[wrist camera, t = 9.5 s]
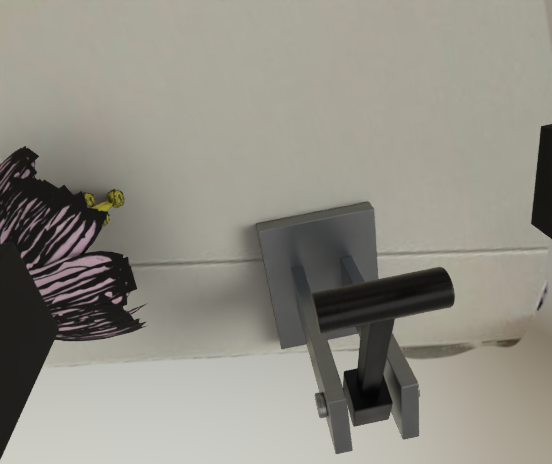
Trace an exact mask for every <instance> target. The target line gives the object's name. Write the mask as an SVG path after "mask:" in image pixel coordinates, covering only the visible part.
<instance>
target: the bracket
mask: <svg viewBox="0 0 552 464" xmlns="http://www.w3.org/2000/svg"><path fill="white" fill-rule="evenodd" d="M257 230H258V235H259V240H260V245H261V250H262V255H263V260H264V265H265V270H266V275H267V280H268V285H269V290H270V295H271V300H272V305H273V310H274V315H275V320H276V325H277V330H278V335H279V340H280V345H281V349H285V348H290V347H295V346H300V345H305V344H307V347H308V350H309V354H310V358H311V362H312V366H313V369H314V373H315V377H316V381H317V384H318V388H319V392H320V393H315V400H316V405H317V410H318V414H319V417H320V418H324V417H326V418H327V422H328V426H329V430H330V434H331V437H332V441H333V445H334V449H335V453H336V454H339V453H344V452H349V451H352V442H351V433H350V425H349V417H348V408H347V399H346V396H345V393H344V390H343V387H342V384H341V381H340V378H339V375H338V371H337V369H336V366H335V362H334V359H333V356H332V353H331V350H330V347H329V344H328V341H327V340H329V339H334V338H339V337H344V336H348V335H353V334H359V336H360V338H361V327H362V325H361V326H356V327H351V328H347V329H342V330H337V331H332V332H327V333H322V334H320V333H319V332H318V329H317V326H316V322H315V318H314V313H313V308H312V303H311V293H313V292H318V291H323V290H328V289H333V288H338V287H343V286H348V285H353V284H358V283H362V282H367V281H372V280H377V279H378V268H377V251H376V234H375V217H374V208H373V207H372V205H371V204H370V202H365V203H360V204H355V205H350V206H345V207H340V208H335V209H330V210H325V211H320V212H314V213H309V214H304V215H299V216H294V217H289V218H284V219H279V220H274V221H269V222H264V223H259V224H257ZM383 375H384V378H385V381H386V384H387V386H388V389H389V392H390V395H391V398H392V401H393V405H392V409H391V412H392V415H393V417H394V420H395V422H396V424H397V427H398V429H399V431H400V434H401V436H402V438H403V439H408V438H413V437H418V436H419V396H420V390H419V384H418V382H417V380H416V378H415V376H414V374H413V372H412V370H411V368H410V367H409V364H408V362H407V361H406V359H405V357H404V355H403V353H402V351H401V349H400V347H399V345H398V343H397V341H396V339H395V337H394V335H393V334H392V335H391V340H390V345H389V349H388V354H387V359H386V364H385V369H384V373H383Z"/></svg>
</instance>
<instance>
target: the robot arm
mask: <svg viewBox="0 0 552 464" xmlns="http://www.w3.org/2000/svg"><path fill="white" fill-rule="evenodd" d="M531 224H532V225H534V226H535V227H536V228H538V229H539V230H540V231H542V232H543V233H544V234H546V235H547V236H548V237H550V238H551V239H552V124H550V125H545V126H541V133H540V143H539V153H538V162H537V172H536V182H535V192H534V202H533V211H532V221H531ZM58 331H59V327H58V325H57V323H56V321H55V319H54V318H53V316H52V314H51V312H50V310H49V308H48V306H47V304H46V303H45V301H44V299H43V297H42V295H41V293H40V291H39V289H38V288H37V286H36V284H35V282H34V280H33V278H32V276H31V275H30V273H29V271H28V269H27V267H26V265H25V263H24V261H23V260H22V258H21V256H20V254H19V252H18V250H17V248H16V247H15V245H14V243H13V242H8V243H3V244H0V459H1V457H2V455H3V453H4V450H5V448H6V446H7V444H8V441H9V439H10V437H11V435H12V432H13V430H14V428H15V426H16V423H17V422H18V419H19V417H20V415H21V413H22V410H23V408H24V406H25V404H26V401H27V399H28V397H29V395H30V393H31V390H32V388H33V386H34V384H35V382H36V379H37V377H38V375H39V373H40V370H41V368H42V366H43V364H44V362H45V360H46V357H47V355H48V353H49V351H50V348H51V346H52V344H53V342H54V340H55V337H56V335H57V333H58Z"/></svg>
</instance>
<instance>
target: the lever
mask: <svg viewBox="0 0 552 464" xmlns="http://www.w3.org/2000/svg"><path fill="white" fill-rule="evenodd" d="M454 299H455V296H454V288H453V284H452V281H451V279H450V276H449V275H448V273H447V271H446V270H445V269H444V268H442V267H437V268H432V269H427V270H422V271H417V272H412V273H407V274H402V275H397V276H392V277H387V278H382V279H377V280H372V281H367V282H362V283H358V284H353V285H348V286H343V287H338V288H333V289H328V290H323V291H318V292H313V293H311V303H312V308H313V313H314V318H315V322H316V326H317V329H318V332H319V333H320V334H322V333H327V332H332V331H337V330H342V329H347V328H351V327H356V326H361V325H362V327H361V338H360V348H359V359H358V368H357V369H353V370H348V371H344V382H343V390H344V393H345V396H346V399H347V405H348V409H349V412H350V416H351V420H352V423H353V426H359V425H364V424H368V423H373V422H378V421H383V420H387V419H389V416H390V412H391V409H392V405H393V401H392V398H391V395H390V392H389V389H388V386H387V384H386V381H385V378H384V375H383V373H384V369H385V364H386V359H387V354H388V349H389V345H390V340H391V335H392V330H393V325H394V320H395V318H400V317H405V316H410V315H415V314H420V313H424V312H429V311H434V310H439V309H444V308H449V307H451V306H453V304H454Z"/></svg>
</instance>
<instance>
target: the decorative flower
mask: <svg viewBox="0 0 552 464" xmlns="http://www.w3.org/2000/svg"><path fill="white" fill-rule="evenodd" d="M38 157H39V156H38V155H37V154H35V153H34V152H33V151H31V150H30V149H29V148H26V146H24V147H23V148H22V149H21V148H20V149H18V150H17V151H15V152H14V153H13V154H11V155H10V156H9V157H8V158H7V159H6V160H5V161H4V162H3V163H2V164H1V165H0V244H3V243H8V242H13V243H14V245H15V247H16V248H17V250H18V252H19V254H20V256H21V258H22V260H23V261H24V263H25V265H26V267H27V269H28V271H29V273H30V275H31V276H32V278H33V280H34V282H35V284H36V286H37V288H38V289H39V291H40V293H41V295H42V297H43V299H44V301H45V303H46V304H47V306H48V308H49V310H50V312H51V314H52V316H53V318H54V319H55V321H56V323H57V325H58V327H59V331H58V333H57V335H56V337H55V340H62V341H89V340H98V339H105V338H110V337H114V336H118V335H122V334H126V333H130V332H133V331H136V330H138V329H140V328H143V327H141V326H142V325H143V324H144V323H146V322H143V323H139V319H140V318H139V319H136V320H134V319H133V318H132V316H131V314H133V313H134V312H136V311H137V310H139V309H140V308H141V307H143V306H144V305H142V306H140V307H137V308H134V309H132V310H130V311H127V312H126V311H125V310H124V309H123V306H124V305H127V297H128V295H129V293H130V292H131V291H133V290H136V289H137V286H136V283H135V280H134V276H133V273H132V270H131V266H129V262H128V257H126V258H123V255H122V254H118V253H114V252H105V251H99V252H90V253H85V252H86V251H87V249H88V248H89V246H90V245H92V244H93V242H94V241H95V239H96V237H97V235H98V234H99V232H100V230H101V229H102V226H105V225H106V224H108V222H109V221H110V219H109V214H108V210H109V209H110V208H111V206H113V207H115V208H118V207H120V206H122V205H123V204H124V197H123V193H122V192H121V191H119V190H116V189H114V190H112V191H110V192H109V193H108V195H107V200H108V201H105V202H102V203H100V204H98V205H96V206H93V205H94V204H95V199H94V196H93V194H90V193H86V192H85V193H82V191H81V192H79V193H77V194H75V195H73V194H72V193H71V192H70V191H69V190H68V188H67V187H66V186H65V185H63V186H62V187H60V188H57V187H55V186H54V185H52V184H50V183H49V182H47V181H46V180H44V181H43V182H42V181H41V180H40V179H39V180H37V179H36V178H35V176H34V175H35V174H36V173H37V172H36V171H35V169H34V168H35V160H36V159H37V158H38ZM84 253H85V254H84ZM146 304H147V303H146ZM144 327H146V326H144Z"/></svg>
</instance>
